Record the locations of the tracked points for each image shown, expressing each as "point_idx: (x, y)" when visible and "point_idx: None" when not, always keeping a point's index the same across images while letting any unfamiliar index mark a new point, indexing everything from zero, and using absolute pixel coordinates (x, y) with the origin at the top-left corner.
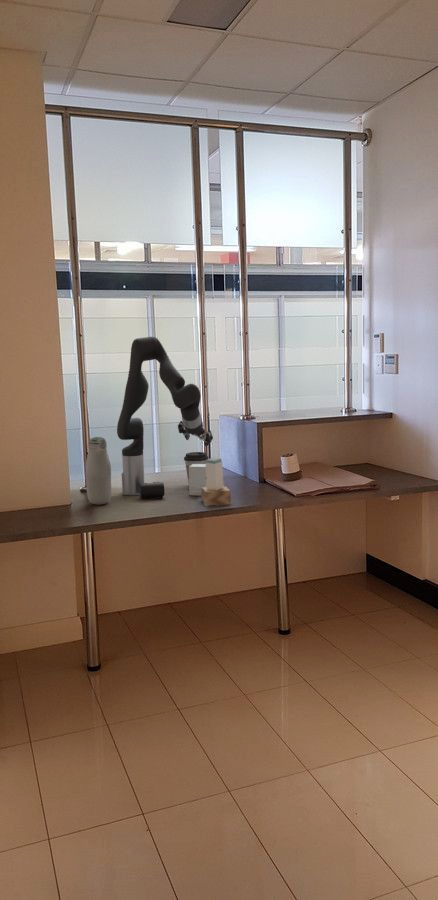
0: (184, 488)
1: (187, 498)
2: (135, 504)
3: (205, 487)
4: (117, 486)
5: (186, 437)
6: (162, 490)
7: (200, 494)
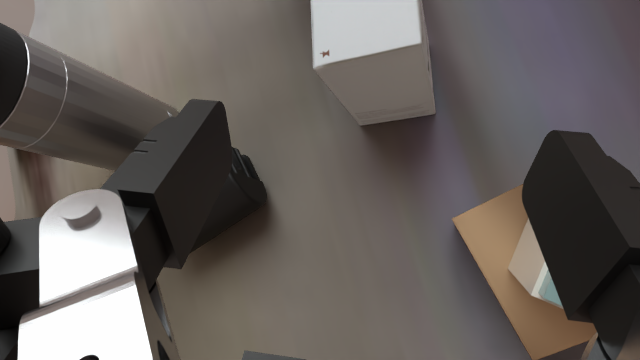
0: (302, 9)
1: (369, 184)
2: (198, 321)
3: (477, 218)
4: (87, 53)
5: (193, 224)
6: (252, 208)
7: (410, 117)
